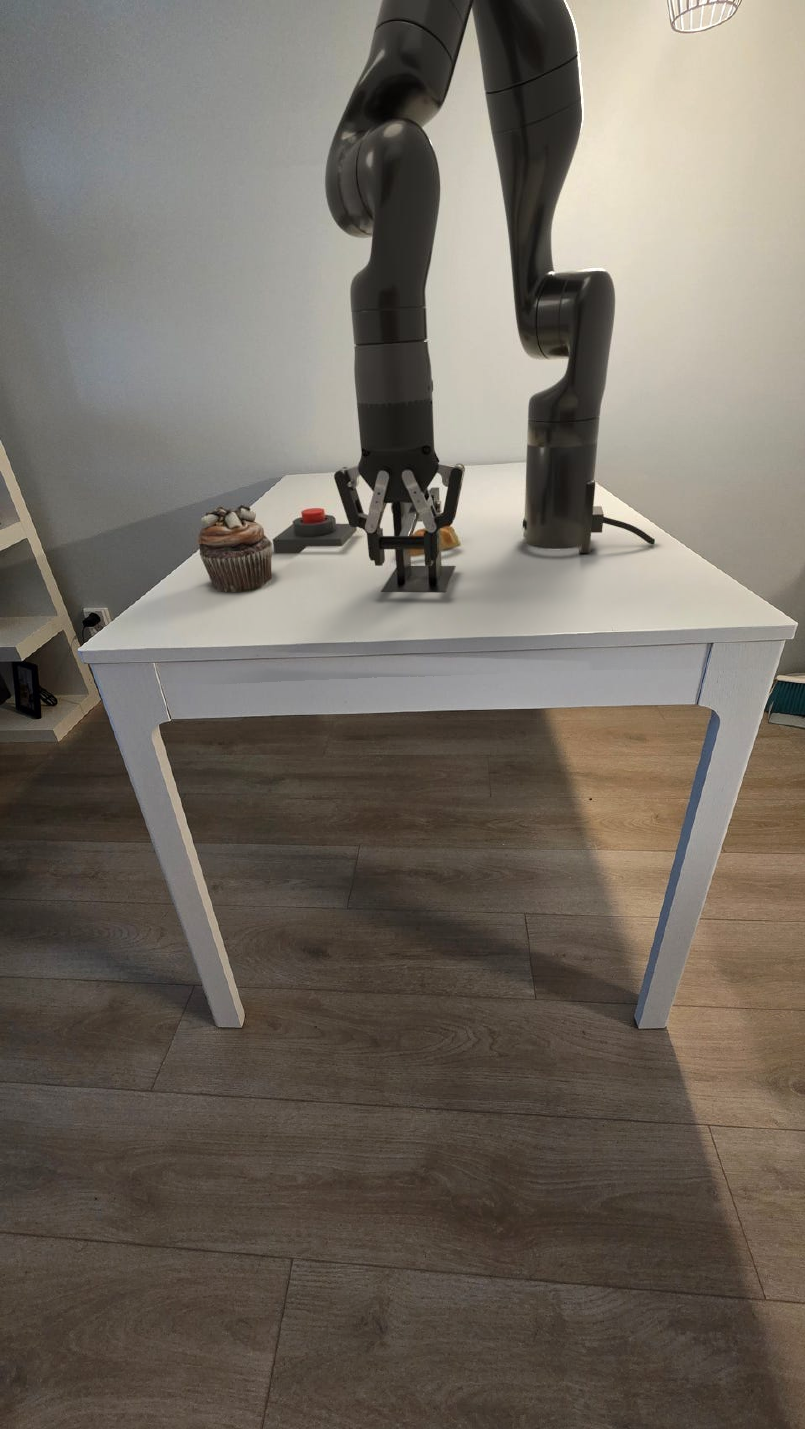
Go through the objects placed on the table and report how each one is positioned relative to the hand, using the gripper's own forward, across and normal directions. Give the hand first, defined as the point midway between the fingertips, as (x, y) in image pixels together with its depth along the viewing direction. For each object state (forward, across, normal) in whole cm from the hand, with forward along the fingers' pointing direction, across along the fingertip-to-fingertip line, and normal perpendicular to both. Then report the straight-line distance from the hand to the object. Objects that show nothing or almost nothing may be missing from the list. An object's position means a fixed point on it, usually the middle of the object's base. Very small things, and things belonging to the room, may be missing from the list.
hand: (404, 563), depth 72 cm
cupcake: (+6, -25, +10) cm, 28 cm away
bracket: (+6, 0, +9) cm, 11 cm away
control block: (+6, -20, +28) cm, 35 cm away
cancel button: (+2, -20, +28) cm, 34 cm away
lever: (-2, 0, +5) cm, 5 cm away
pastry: (+6, -1, +23) cm, 24 cm away
